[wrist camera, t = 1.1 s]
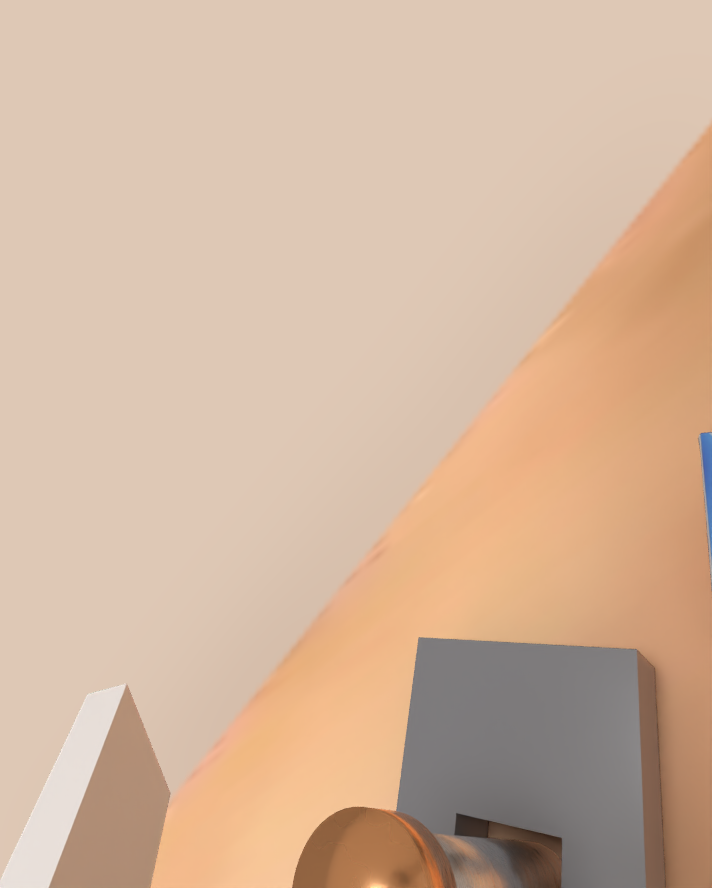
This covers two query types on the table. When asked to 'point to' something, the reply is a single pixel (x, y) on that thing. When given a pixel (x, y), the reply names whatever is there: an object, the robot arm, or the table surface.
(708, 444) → the medicine box
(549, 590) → the table surface
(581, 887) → the socket block
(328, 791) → the table surface
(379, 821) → the plug
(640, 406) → the table surface
